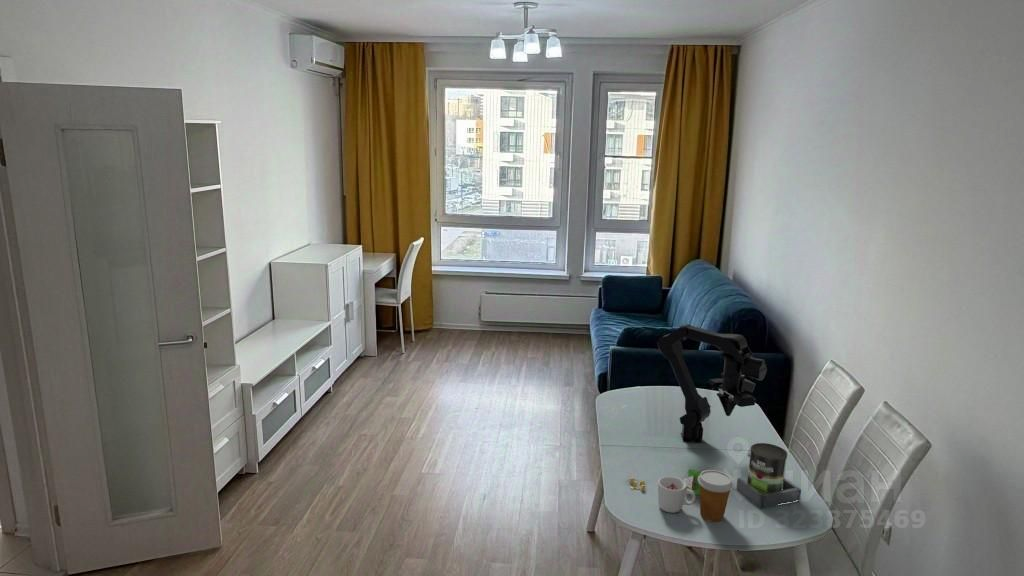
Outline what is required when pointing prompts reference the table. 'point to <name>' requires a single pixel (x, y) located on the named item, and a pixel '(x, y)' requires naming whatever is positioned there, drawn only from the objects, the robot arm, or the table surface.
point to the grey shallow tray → (769, 494)
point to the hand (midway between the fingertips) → (728, 415)
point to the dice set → (642, 483)
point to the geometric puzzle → (692, 481)
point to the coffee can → (766, 467)
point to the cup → (673, 494)
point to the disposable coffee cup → (714, 494)
